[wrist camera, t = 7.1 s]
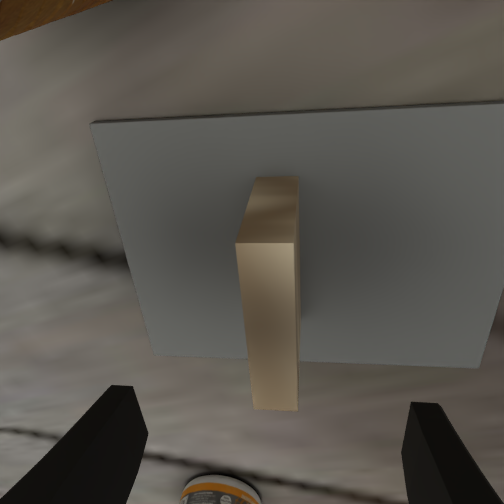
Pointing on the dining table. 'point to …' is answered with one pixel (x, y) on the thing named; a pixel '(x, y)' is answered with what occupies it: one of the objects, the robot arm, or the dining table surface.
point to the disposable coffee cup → (37, 13)
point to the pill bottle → (218, 491)
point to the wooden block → (272, 291)
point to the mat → (319, 227)
